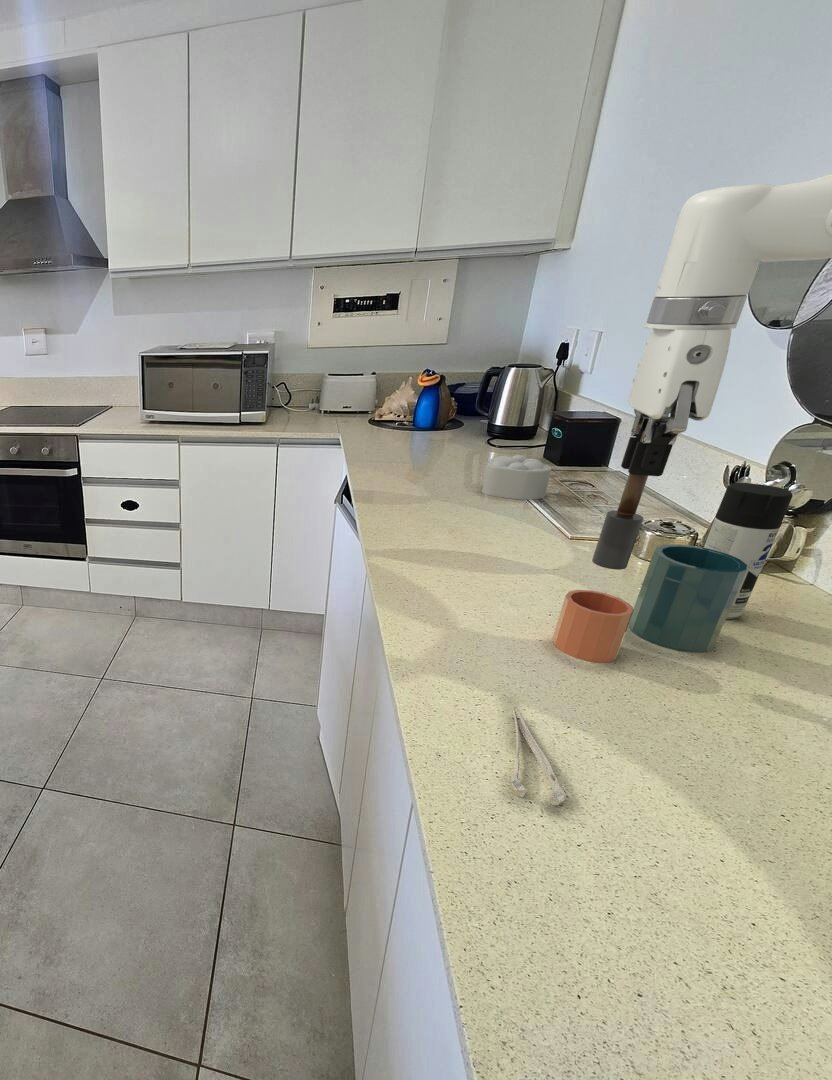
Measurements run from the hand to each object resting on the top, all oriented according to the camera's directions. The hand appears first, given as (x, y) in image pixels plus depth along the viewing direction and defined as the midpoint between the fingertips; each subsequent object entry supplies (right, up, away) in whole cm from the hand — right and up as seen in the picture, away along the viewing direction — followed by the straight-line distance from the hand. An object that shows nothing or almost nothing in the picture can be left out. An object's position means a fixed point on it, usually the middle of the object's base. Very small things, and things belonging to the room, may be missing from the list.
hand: (640, 470), depth 72 cm
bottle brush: (0, -12, +5) cm, 13 cm away
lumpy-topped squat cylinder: (+34, +3, +72) cm, 80 cm away
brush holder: (+1, -25, +10) cm, 27 cm away
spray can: (+29, -20, +19) cm, 40 cm away
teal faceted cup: (+15, -23, +12) cm, 30 cm away
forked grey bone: (-19, -32, -5) cm, 38 cm away
